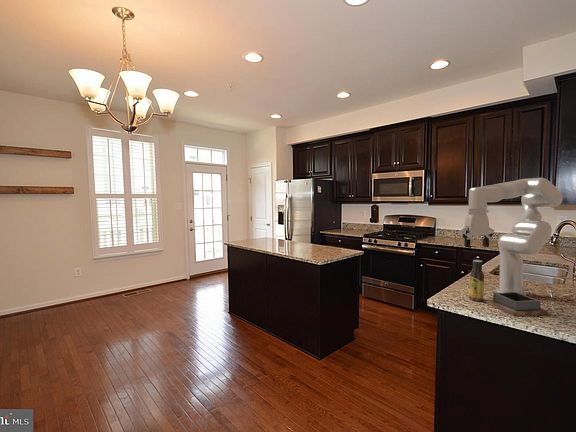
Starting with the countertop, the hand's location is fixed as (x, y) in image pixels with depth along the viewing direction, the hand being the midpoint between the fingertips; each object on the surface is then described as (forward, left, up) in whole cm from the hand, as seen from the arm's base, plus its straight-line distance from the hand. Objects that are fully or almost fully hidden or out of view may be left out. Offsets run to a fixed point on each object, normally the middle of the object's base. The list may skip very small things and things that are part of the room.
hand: (476, 247), depth 141 cm
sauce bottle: (0, 0, -27) cm, 27 cm away
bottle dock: (-9, +13, -27) cm, 31 cm away
